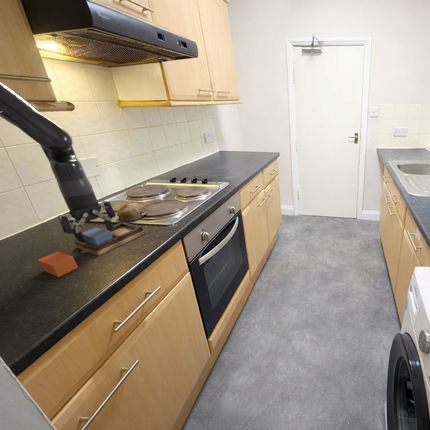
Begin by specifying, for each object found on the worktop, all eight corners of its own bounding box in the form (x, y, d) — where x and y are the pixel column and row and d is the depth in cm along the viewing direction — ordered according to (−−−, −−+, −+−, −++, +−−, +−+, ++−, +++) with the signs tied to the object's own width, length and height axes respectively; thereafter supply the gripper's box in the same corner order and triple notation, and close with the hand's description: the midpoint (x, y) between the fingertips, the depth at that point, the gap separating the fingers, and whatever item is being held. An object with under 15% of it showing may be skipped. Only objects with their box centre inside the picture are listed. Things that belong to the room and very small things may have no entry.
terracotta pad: (58, 277, 77) (52, 265, 75) (44, 270, 80) (37, 259, 78) (78, 267, 81) (73, 256, 79) (64, 261, 84) (58, 251, 82)
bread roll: (136, 229, 111) (139, 213, 108) (110, 220, 109) (112, 204, 106) (149, 219, 120) (152, 204, 117) (125, 211, 118) (127, 195, 115)
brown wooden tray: (98, 255, 87) (95, 248, 86) (76, 247, 92) (73, 240, 91) (145, 233, 100) (143, 227, 99) (123, 227, 105) (121, 221, 104)
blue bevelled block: (98, 248, 89) (94, 237, 87) (84, 243, 92) (80, 233, 90) (114, 241, 93) (110, 231, 91) (100, 237, 96) (96, 227, 94)
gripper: (95, 183, 92) (112, 225, 98) (43, 197, 80) (66, 243, 87) (108, 186, 89) (124, 228, 96) (56, 201, 77) (79, 248, 84)
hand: (97, 235), depth 91 cm, fingers open, 8 cm apart
